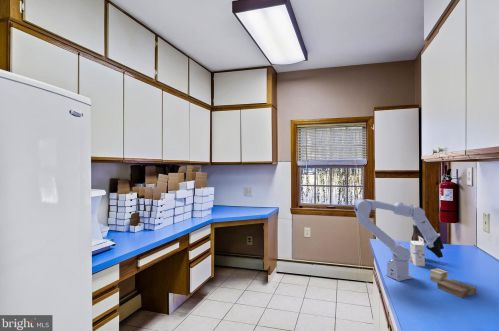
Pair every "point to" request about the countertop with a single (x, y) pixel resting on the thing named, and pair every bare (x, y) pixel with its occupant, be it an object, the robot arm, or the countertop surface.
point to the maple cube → (438, 275)
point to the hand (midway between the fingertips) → (441, 252)
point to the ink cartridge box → (417, 252)
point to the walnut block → (456, 288)
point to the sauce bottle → (416, 233)
